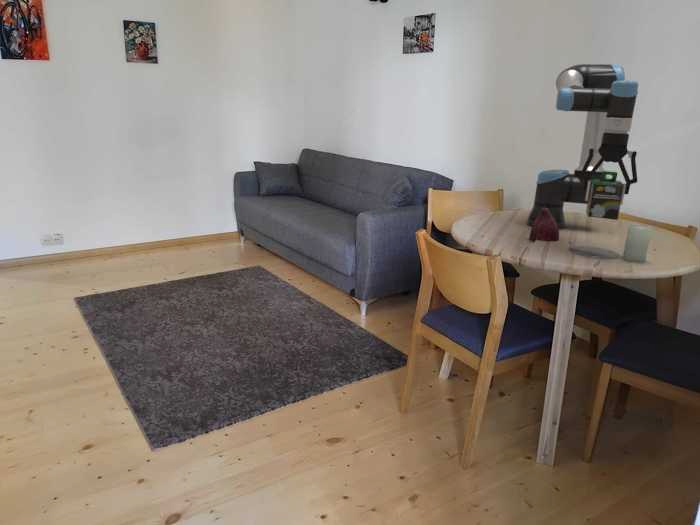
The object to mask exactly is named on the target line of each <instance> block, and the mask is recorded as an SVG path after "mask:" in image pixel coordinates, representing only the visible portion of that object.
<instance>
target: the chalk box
mask: <svg viewBox="0 0 700 525" xmlns="http://www.w3.org/2000/svg"><path fill="white" fill-rule="evenodd" d="M608 175H609V176H611V178H609V179H606V178H605V176H608ZM617 178H618V172H617V171H608V170H607V171H606V170H605V171H603V172H602V173H601V178H600V180H596V179H592V181H591V187H590V192H589V198H588V203H587V204H586V211H585V212H586V215H587V217H588V218H599V219H606V220H618V219H619V215H620V214H619V213H620V209H621V206H622V205H621V200H622V194H623V189H624V184H625V183H623V182H622V181H621V180H617Z"/></svg>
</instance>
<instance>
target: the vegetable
mask: <svg viewBox="0 0 700 525" xmlns="http://www.w3.org/2000/svg"><path fill="white" fill-rule="evenodd" d="M528 240H530V241H531V242H533V243H535V242H536V241H542V242H558V241H559V240H560V229H558V225H557V223H556V221H555V219H554V218H553V217H552V215H551V213H550V211H549V210H548V208H546V207H545V206H544V208H542V210H541V212H540V214H539V215H538V217H537V219H536V220H535V222H534V224H533V226H531V229H530V232H529V236H528Z"/></svg>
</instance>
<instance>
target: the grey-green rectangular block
mask: <svg viewBox="0 0 700 525" xmlns="http://www.w3.org/2000/svg"><path fill="white" fill-rule="evenodd" d="M652 231H653V228H652V227H651V226H647V225H642V224H629V225H628V229H627V234H626V239H625V244H624V249H623V255H622V259H623V260H625V261H629V262H634V263H645V262H646V259H647V254H648V249H649V247H650V246H649V245H650V240H651V235H652Z"/></svg>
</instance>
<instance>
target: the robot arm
mask: <svg viewBox="0 0 700 525" xmlns="http://www.w3.org/2000/svg"><path fill="white" fill-rule="evenodd" d="M625 74H626V73H625V69H624V68H623V66H622V65H619V64H611V63H610V64H601V63H600V64H591V63H590V64H584V63H582V64H581V63H580V64H575V65H573V66H570V67H568V68H565V69H564V70H562V71H561V72H560V73H559V74H558V76H557V78H556V81H555V87H556V89H557V94H556V95H557V96H556V103H555V108H556V110H558V111H564V112H586V118H585V119H586V120H585V125H584V133H583V137H582V145H581V152H580V159H579V165H578V166H577V167H576V168H575V169H574V170H573V173H570V171H569V170H568V169H549V170H548V169H547V170H542V171H540V172H539V174H538V175H537V181H536V182H535V183H536V188H535V194H534V201H533V207H532V208H531V210H530V212H529V214H528V216H527V220H526V224H527V226H531V227H532V226H533V224H534V222H535V220H536V219H537V217H538V215H539V214H540V212H541V210H542V208H544V206H545V207H546V208H548V210H549V211H550V213H551V215H552V217H553V218H554V219H555V221H556V223H557V225H558V229H559V230H561V229H564V228H565V227H566V219H565V213H564V203H572V204H580V205H581V204H582V205H587V203H588V198H589V192H590V187H591V181H592V179H596V180H600V178H601V173H602V172H603V171H606V170H605V169H604V167H603V166H604V165H603V164H604V162H606V163H610V162H611V163H617V164H618V166H619V168H620V171H621V173H622V176H623V178H624V181H625V183H623V184H624V189H623V194H622V200H621V205H620V206H622V205H623V203H624V197H625V195H629V192H630V188H631V185H632V184H636V183H637V182H638V173H637V164H636V163H637V162H636V157H637V154H638V152H637V151H636V150H634V151H632V150H628V148H627V147H628V144H629V140H630V139H629V138H630V135H629V134H630V133H629V132H631V128H632V123H633V116H634V111H635V106H636V101H637V95H638V93H639V91H638V90H639V82H638V81H637V80H626V76H625ZM626 155H628V158H629V159H630V164H631V176H632V177H631V178H632V179H630V176H629V173H628V171H627V169H626V166H625V163H624V161H623V158H624V157H625V156H626ZM605 178H606V179H610V177H609V176H608V175H606V176H605Z"/></svg>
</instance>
